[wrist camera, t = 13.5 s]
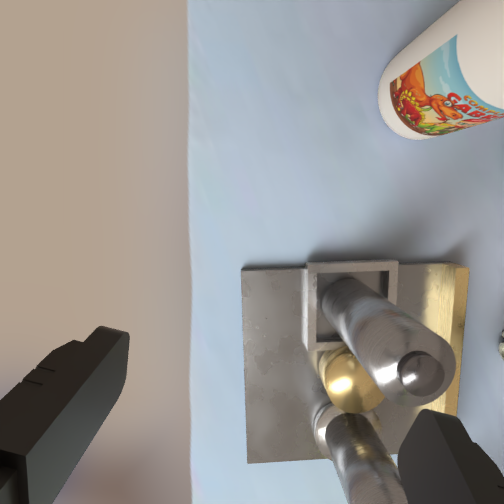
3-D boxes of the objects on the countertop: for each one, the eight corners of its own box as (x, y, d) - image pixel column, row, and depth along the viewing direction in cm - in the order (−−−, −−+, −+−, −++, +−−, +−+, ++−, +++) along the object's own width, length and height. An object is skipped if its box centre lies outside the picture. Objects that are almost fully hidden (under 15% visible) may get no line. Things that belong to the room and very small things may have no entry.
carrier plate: (240, 263, 31) (245, 316, 17) (449, 255, 32) (606, 300, 18) (247, 457, 34) (255, 625, 21) (434, 445, 35) (557, 599, 22)
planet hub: (322, 279, 31) (383, 338, 18) (373, 277, 31) (469, 334, 18) (321, 328, 31) (380, 418, 19) (371, 326, 32) (461, 413, 19)
